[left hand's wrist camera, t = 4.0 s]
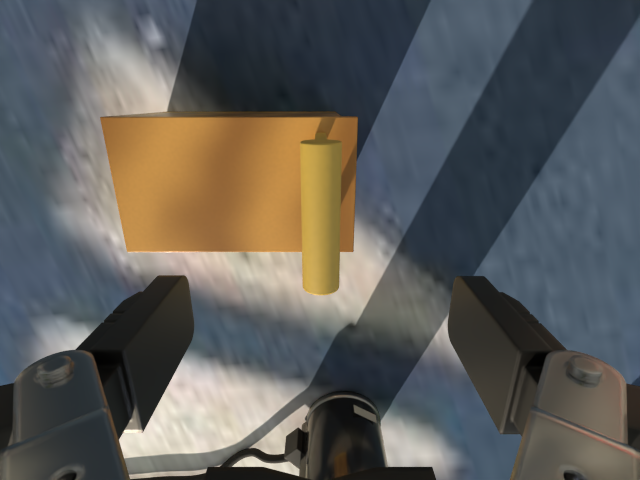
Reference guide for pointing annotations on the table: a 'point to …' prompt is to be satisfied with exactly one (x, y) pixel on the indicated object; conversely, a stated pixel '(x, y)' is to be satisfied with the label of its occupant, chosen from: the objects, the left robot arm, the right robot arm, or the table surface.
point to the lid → (238, 186)
